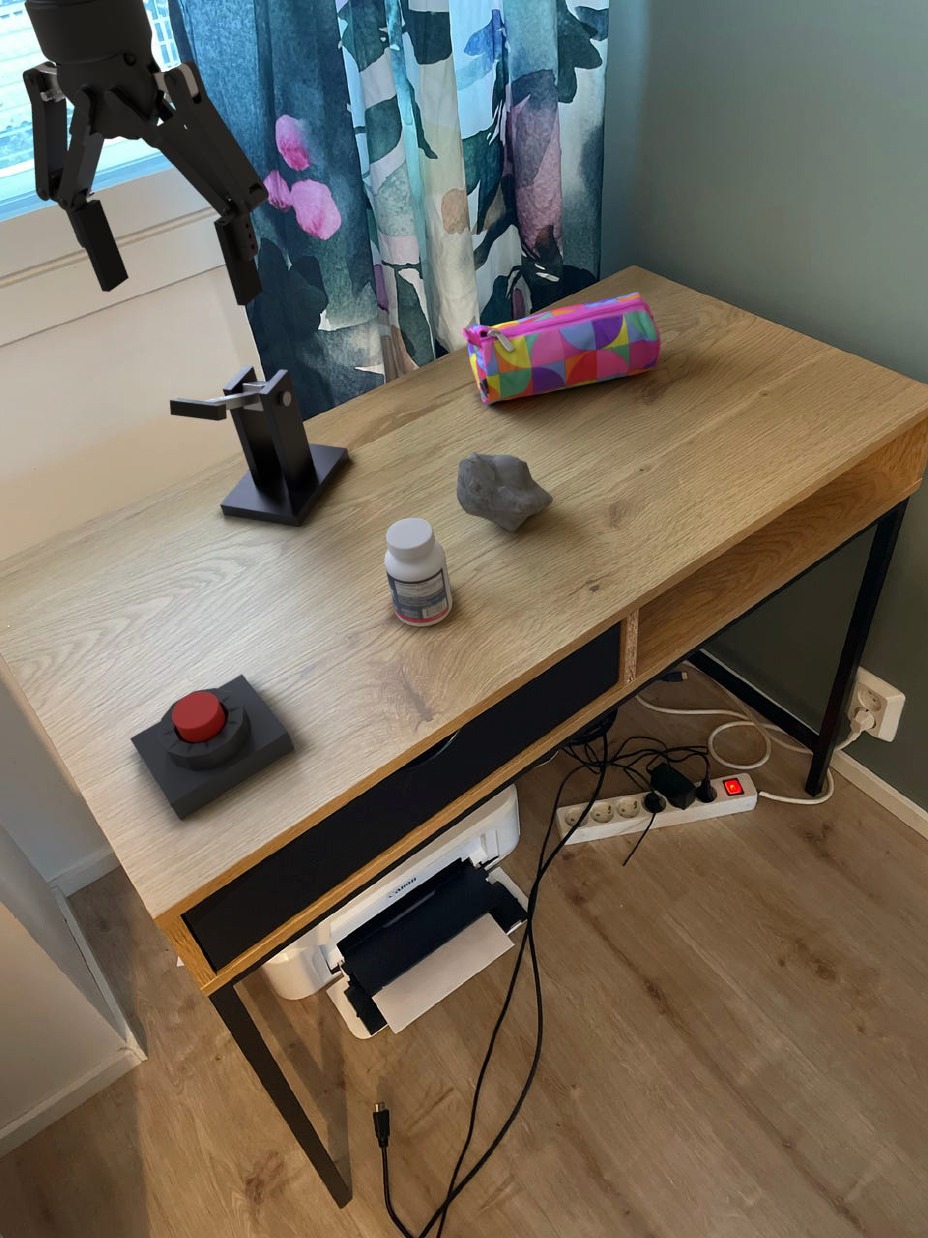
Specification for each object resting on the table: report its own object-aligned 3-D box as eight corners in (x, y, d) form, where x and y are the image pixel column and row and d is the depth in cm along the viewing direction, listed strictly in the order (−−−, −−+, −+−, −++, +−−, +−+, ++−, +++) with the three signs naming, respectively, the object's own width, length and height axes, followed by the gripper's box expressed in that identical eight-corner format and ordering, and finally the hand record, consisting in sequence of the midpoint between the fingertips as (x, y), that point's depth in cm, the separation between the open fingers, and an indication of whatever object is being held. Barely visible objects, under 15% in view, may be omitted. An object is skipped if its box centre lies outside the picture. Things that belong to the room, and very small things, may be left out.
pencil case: (480, 425, 100) (472, 351, 93) (461, 382, 106) (453, 311, 100) (666, 384, 102) (671, 310, 95) (636, 345, 108) (639, 273, 102)
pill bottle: (403, 585, 83) (387, 510, 77) (458, 588, 82) (446, 512, 76) (388, 626, 79) (371, 551, 73) (446, 630, 78) (433, 554, 72)
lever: (218, 427, 78) (217, 399, 77) (170, 420, 80) (168, 393, 79) (290, 408, 89) (290, 383, 88) (247, 403, 90) (246, 379, 89)
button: (190, 750, 67) (183, 737, 66) (171, 722, 69) (164, 708, 68) (233, 725, 69) (226, 711, 67) (213, 698, 71) (206, 683, 69)
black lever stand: (299, 527, 91) (266, 418, 81) (223, 514, 93) (183, 408, 84) (349, 457, 98) (324, 351, 89) (277, 448, 101) (246, 344, 92)
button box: (180, 820, 67) (161, 791, 65) (139, 754, 72) (121, 724, 69) (295, 749, 71) (282, 717, 68) (249, 690, 76) (235, 659, 73)
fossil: (577, 526, 86) (576, 457, 80) (504, 570, 83) (497, 502, 77) (505, 476, 93) (499, 409, 87) (435, 514, 90) (424, 448, 84)
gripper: (267, -38, 58) (333, 282, 72) (-22, -25, 66) (91, 260, 81) (202, -10, 53) (287, 326, 68) (-101, 1, 61) (35, 298, 76)
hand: (181, 291), depth 74 cm, fingers open, 13 cm apart
